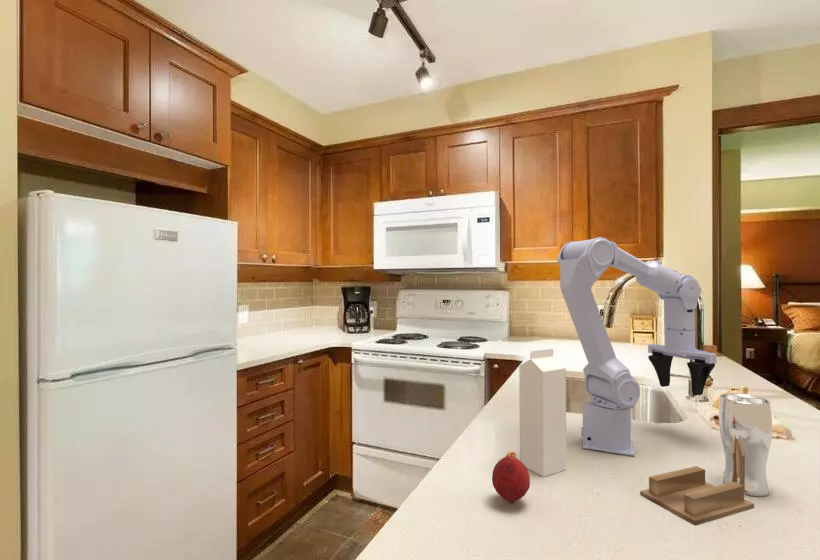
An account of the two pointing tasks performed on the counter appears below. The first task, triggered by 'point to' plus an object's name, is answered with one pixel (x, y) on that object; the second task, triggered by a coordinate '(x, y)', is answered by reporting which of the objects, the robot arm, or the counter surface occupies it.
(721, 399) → the beer glass
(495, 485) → the red oval fruit
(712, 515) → the cradle
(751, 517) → the counter surface
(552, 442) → the milk
